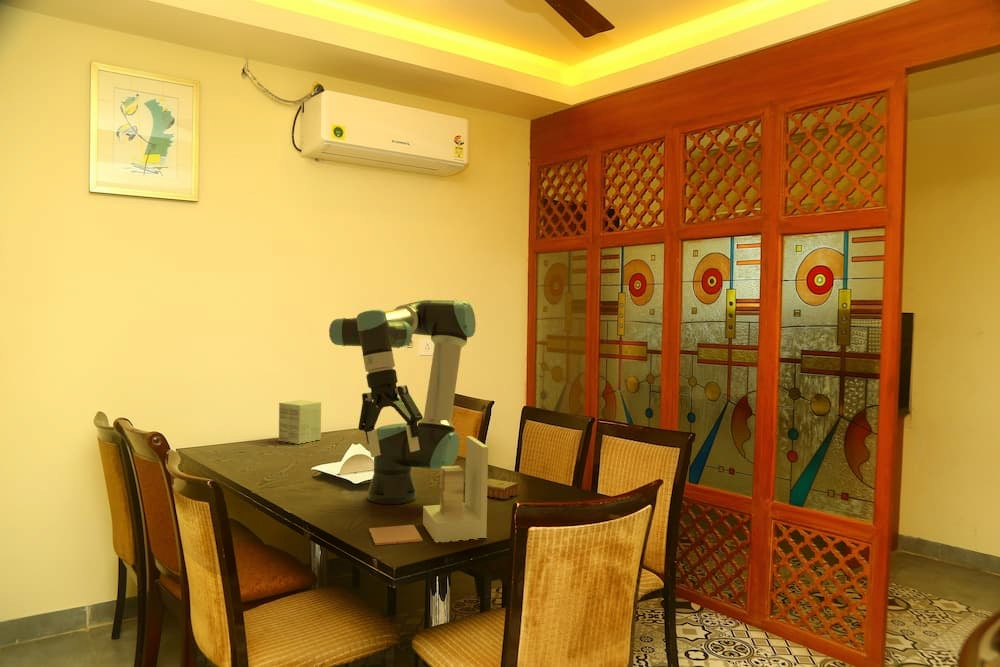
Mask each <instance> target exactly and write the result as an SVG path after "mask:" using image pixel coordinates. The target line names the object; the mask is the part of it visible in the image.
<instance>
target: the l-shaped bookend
mask: <svg viewBox="0 0 1000 667" xmlns="http://www.w3.org/2000/svg"><path fill="white" fill-rule="evenodd" d="M465 438H466V439H465V476H464V478H465V480H464V483H465V492H464V502H463V515H456V516H444V515H443V514H442V513H441V511H440V504H435V505H434V504H433V505H423V506H422V525H423V526H424V527H425V529H426V531H427V532H428V534H429V535H430V537H431V538H432V539H434V540H433V541H434V543H435V542H436V544H439V543H438V542H441V543H448V542H450V541H452V542H460V541H459V540H463V541H469V539H474V540H479V539H478V538H486V539H487V522H488V519H487V517H488V497H487V484H488V478H489V477H488V476H489V475H488V473H489V446H487V444H484V443H483V442H481V441H480V440H479V439H477V438H475V437H474V436H472V435H467V436H465ZM450 543H451V542H450Z"/></svg>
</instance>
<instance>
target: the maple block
mask: <svg viewBox="0 0 1000 667" xmlns="http://www.w3.org/2000/svg"><path fill="white" fill-rule="evenodd" d="M464 471H465V469H463V468H462V467H461V466H460V465H452V466H442V467H441V470H440V480H439V481H440V482H439V484H440V488H439V505H440V511H441V513H442V514H443V515H444V516H456V515H463V503H464V483H465V480H464V478H465V476H464V475H465V472H464Z"/></svg>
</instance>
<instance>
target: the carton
mask: <svg viewBox="0 0 1000 667" xmlns="http://www.w3.org/2000/svg"><path fill="white" fill-rule="evenodd" d="M464 491H465V482H464V488H463V492H464ZM517 493H518V494H519V484H518V482H513V481H506V480H500V479H496V478H495V479H494V478H489V477H488V484H487V496H492V497H497V498H503V499H506V498H508V497H510V496H513V495H515V494H517ZM513 497H514V496H513ZM508 499H509V498H508ZM506 500H507V499H506Z"/></svg>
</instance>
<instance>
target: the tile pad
mask: <svg viewBox="0 0 1000 667" xmlns="http://www.w3.org/2000/svg"><path fill="white" fill-rule="evenodd" d="M368 530H369V531H368V532H369V534H370V533H371V534H370V536H371V539H372V538H373V539H372V540H373V544H374V543H375V544H374V546H383V545H386V544H387V545H395V544H396V545H397V543H398V544H408V543H409V542H410V543H419V542H421V543H422V542H424V541H423V536H421V535H420V532H419V530H418V529H417V528H416V526H415V525H414V524H406V525H394V526H393V525H392V526H380V527H369V528H368ZM410 543H409V544H410Z"/></svg>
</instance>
